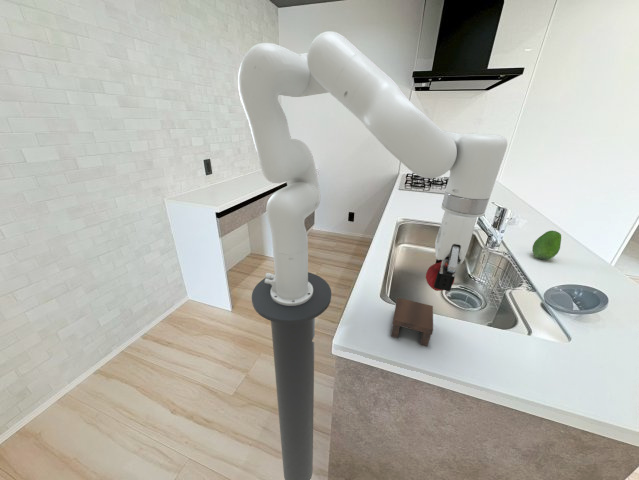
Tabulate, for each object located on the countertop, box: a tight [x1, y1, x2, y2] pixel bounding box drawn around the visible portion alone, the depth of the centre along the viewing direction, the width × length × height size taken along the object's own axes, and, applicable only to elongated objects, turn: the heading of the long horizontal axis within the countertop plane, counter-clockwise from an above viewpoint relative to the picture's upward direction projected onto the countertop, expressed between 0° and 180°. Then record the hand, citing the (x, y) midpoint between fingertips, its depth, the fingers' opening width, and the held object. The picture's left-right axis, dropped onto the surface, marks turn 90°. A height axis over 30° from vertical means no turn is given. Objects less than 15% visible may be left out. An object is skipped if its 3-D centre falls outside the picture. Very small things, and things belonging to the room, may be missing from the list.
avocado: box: [531, 230, 562, 261], centre depth 99 cm, size 8×8×12 cm
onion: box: [425, 261, 456, 292], centre depth 57 cm, size 6×6×8 cm
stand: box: [390, 297, 434, 347], centre depth 66 cm, size 9×9×6 cm
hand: (441, 279), depth 58 cm, fingers closed on onion, 5 cm apart
